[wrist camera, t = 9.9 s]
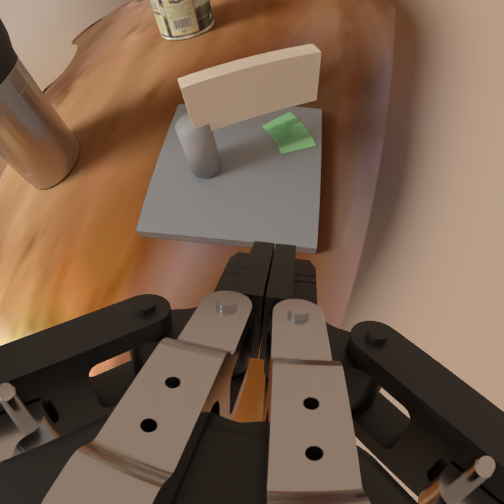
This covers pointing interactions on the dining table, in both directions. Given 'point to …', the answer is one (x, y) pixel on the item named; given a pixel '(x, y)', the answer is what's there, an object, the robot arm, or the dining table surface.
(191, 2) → the coffee can
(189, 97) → the lever handle
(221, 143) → the board
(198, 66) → the dining table surface
